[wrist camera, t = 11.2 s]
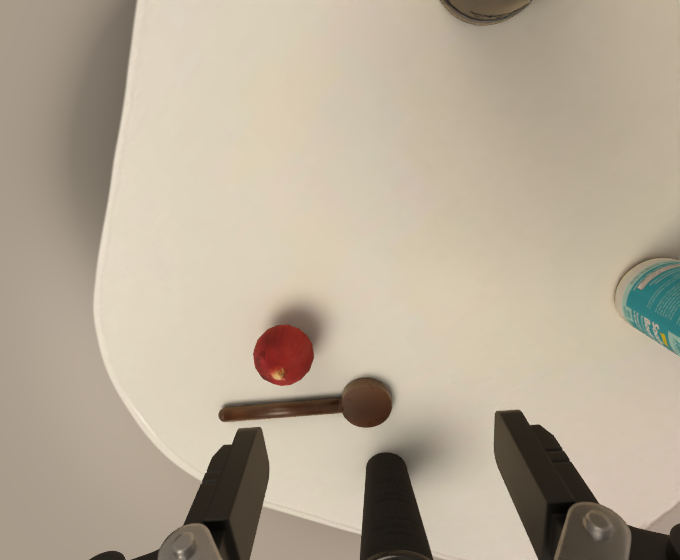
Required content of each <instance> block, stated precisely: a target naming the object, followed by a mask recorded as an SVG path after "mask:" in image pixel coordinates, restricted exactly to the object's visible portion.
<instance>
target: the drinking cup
mask: <svg viewBox="0 0 680 560" xmlns="http://www.w3.org/2000/svg"><path fill="white" fill-rule="evenodd" d="M360 560H433V557H432V554H431V550H430V547H429V543H428V540H427V536H426V533H425V530H424V526H423V523H422V519H421V516H420V512H419V509H418V505H417V502H416V499H415V495H414V492H413V488H412V485H411V481H410V478H409V474H408V471H407V467H406V464H405V462H404V461H403V459H402V458H401V457H399V456H398V455H396V454H393V453H380V454H377V455H375V456H374V457H372V458H371V459H370V460H369V462H368V463H367V467H366V479H365V493H364V508H363V522H362V536H361V551H360Z"/></svg>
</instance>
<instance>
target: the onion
mask: <svg viewBox="0 0 680 560" xmlns="http://www.w3.org/2000/svg"><path fill="white" fill-rule="evenodd" d="M253 356H254V363H255V368H256V369H257V371H258V372H259V374H260V376H261V377H262V378H263V379H264V380H266V381H268V382H271V383H273V384H276V385H280V386H284V385H291V384H293V383H295V382H297V381H299V380H301V379H302V378H303V377H304V376H305V375H306V373H308V372H309V370H310V368H311V365H312V362H313V359H314V353H313V346H312V343H311V341H310V339H309V338H308V336H307V335H306V334H305V333H304V332H302V331H301V330H300V329H299V328H296V327H293V326H291V325H276V326H274V327H272V328H270V329H268V330H267V331H266V332H265V333H264V334H263V335H262V336H261V337H260V338H259V339H258V340H257V343H256V346H255V349H254V353H253Z"/></svg>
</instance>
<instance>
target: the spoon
mask: <svg viewBox="0 0 680 560" xmlns="http://www.w3.org/2000/svg"><path fill="white" fill-rule="evenodd" d="M391 410H392V402H391V395H390V392H389V390H388V388H387V387H386V386H385V385H384V384H383V383H382V382H380V381H378V380H376V379H372V378H360V379H357V380H354V381H352V382H351V383H349V384H348V385H347V386H346V387H345V389H344V390H343V393H342V396H341V398H334V399H321V400H309V401H297V402H284V403H272V404H260V405H247V406H235V407H224V408H222V409H221V410H220V412H219V419H220V420H221V421H223V422H233V421H245V420H258V419H271V418H283V417H296V416H309V415H322V414H334V413H343V415H344V417H345V418H346V419H347V420H348V421H349V422H350V423H352V424H353V425H356V426H359V427H365V428H367V427H374V426H377V425H379V424H381V423H383V422H384V421H385V420H386V419H387V418H388V417H389V415H390V413H391Z"/></svg>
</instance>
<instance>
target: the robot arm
mask: <svg viewBox="0 0 680 560" xmlns="http://www.w3.org/2000/svg"><path fill="white" fill-rule="evenodd" d="M440 1H441V2H442V4H443V5H444V6H445V8H446V9H447V10H448V11H449V12H450V13H451V14H453V15H454V16H455V17H457V18H458V19H460V20H462V21H464V22H467V23H470V24H475V25H491V24H496V23H500V22H502V21H505V20H507V19H509V18H511V17H513V16H514V15H516V14H517V13H518V12H520V11H521V10H522V9H524V8H525V7H526V6H527V5H528V4H529V3H530V2H531V1H532V0H440ZM494 454H495V459H496V463H497V466H498V469H499V471H500V473H501V475H502V478H503V480H504V482H505V485H506V487H507V489H508V491H509V494H510V496H511V498H512V500H513V503H514V505H515V507H516V510H517V512H518V514H519V516H520V519H521V521H522V523H523V525H524V528H525V530H526V532H527V535H528V537H529V539H530V541H531V544H532V546H533V548H534V550H535V553H536V555H537V557H538V560H680V524H677V525H675V526H674V527H673V528H672V529H671V531H670V535H665V534H661V533H656V532H651V531H647V530H643V529H639V528H635V527H632V526H630V525H627V524H626V522H625V521H624V520H623V519H622V518H621V517H620V516H619V515H618V514H617V513H615V512H614V511H612V510H611V509H609V508H607V507H605V506H603V505H600V504H599V503H598V501H597V500H596V498H595V497H594V495H593V494H592V492H591V491H590V489H589V488H588V486H587V485H586V483H585V482H584V480H583V479H582V477H581V476H580V474H579V473H578V471H577V470H576V468H575V467H574V465H573V464H572V462H570V460H569V458H568V456H567V455H566V453H565V452H564V451H563V450H562V447H561V446H560V444H559V443H558V441H557V440H556V438H555V437H554V435H552V434H551V433H550V432H548V431H547V430H546V429H544V428H543V427H542V426H541V425H529V423H528V421H527V420H526V418H525V416H524V415H523V413H522V412H521V411H520V410H506V411H496V413H495V426H494ZM268 480H269V460H268V455H267V451H266V446H265V441H264V437H263V432H262V429H261V427H252V428H239V429H238V430H237V432H236V435H235V438H234V440H233V443H232V445H223V446H222V447H221V448H220V449H219V450H218V452H217V453H216V454H215V455H214V456H213V457H212V459H211V462H210V464H209V466H208V469H207V473H205V476H204V478H203V480H202V484H201V485H200V488H199V490H198V492H197V494H196V497H195V499H194V502H193V504H192V506H191V508H190V511H189V513H188V515H187V518H186V520H185V523H184V525H183V526H182V527H180V528H178V529H177V530H175V531H174V532H172V533H171V534H170V535H169V536H168V537H167V538H166V539H165V541H164V542H163V544H162V545H161V547H160V549H158V550H156V551H154V552H152V553H149V554H146V555H143V556H140V557H138V558H135V559H132V560H249V559H250V555H251V551H252V547H253V543H254V539H255V535H256V530H257V526H258V522H259V518H260V513H261V509H262V505H263V501H264V497H265V493H266V488H267V484H268ZM90 560H126V559H125V557H124V555H123V554H121V553H120V552H117V551H108V552H104V553H101V554H99V555H97V556H95V557H93V558H91V559H90Z"/></svg>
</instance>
